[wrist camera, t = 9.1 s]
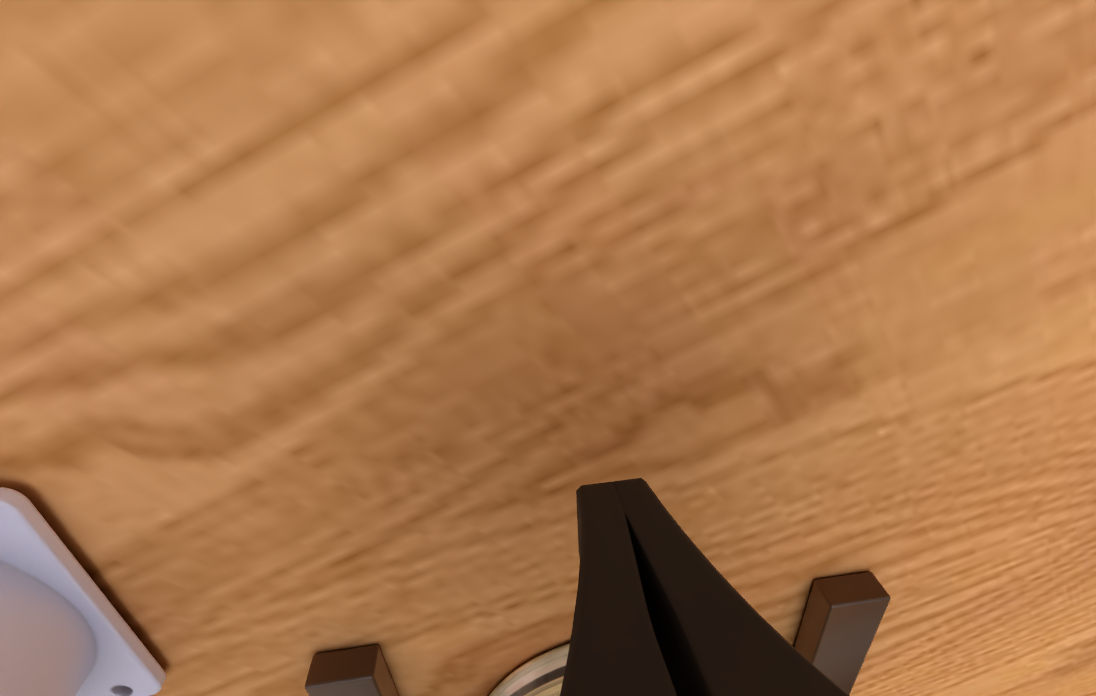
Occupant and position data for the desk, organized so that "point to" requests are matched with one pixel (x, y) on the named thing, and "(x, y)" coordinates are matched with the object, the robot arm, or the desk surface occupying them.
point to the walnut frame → (824, 639)
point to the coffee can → (537, 676)
